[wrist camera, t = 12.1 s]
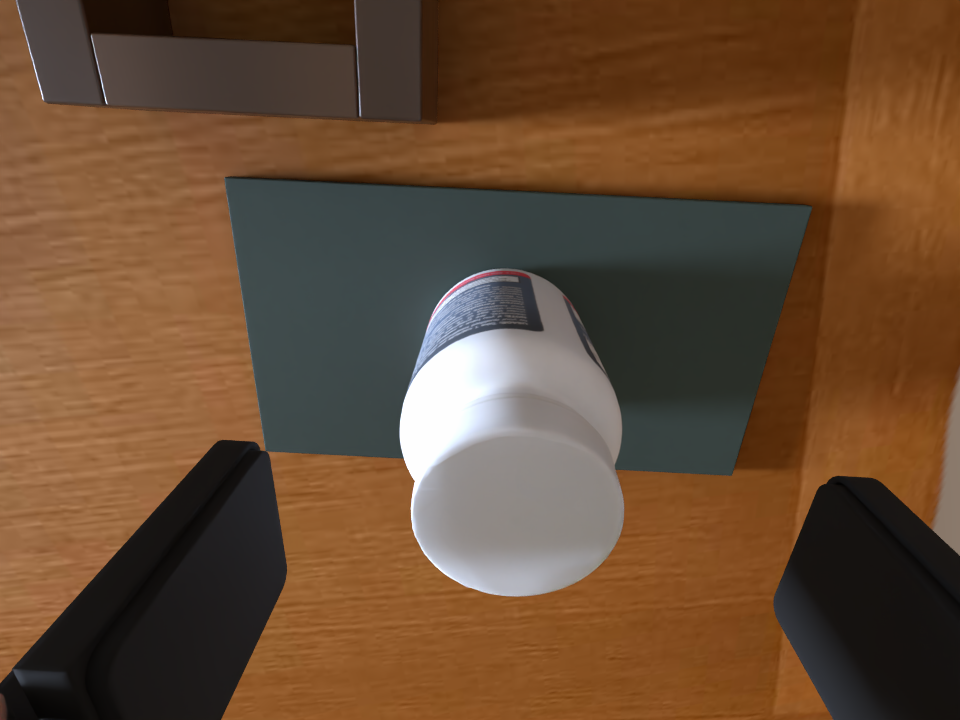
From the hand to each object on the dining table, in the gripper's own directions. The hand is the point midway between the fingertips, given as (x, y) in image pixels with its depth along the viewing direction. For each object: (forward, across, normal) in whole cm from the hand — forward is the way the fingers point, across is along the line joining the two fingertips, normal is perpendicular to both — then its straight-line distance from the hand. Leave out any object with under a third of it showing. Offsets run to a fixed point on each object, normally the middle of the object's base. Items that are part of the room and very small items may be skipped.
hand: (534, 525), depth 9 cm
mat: (+10, 0, 0) cm, 10 cm away
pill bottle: (+10, 0, 0) cm, 10 cm away
